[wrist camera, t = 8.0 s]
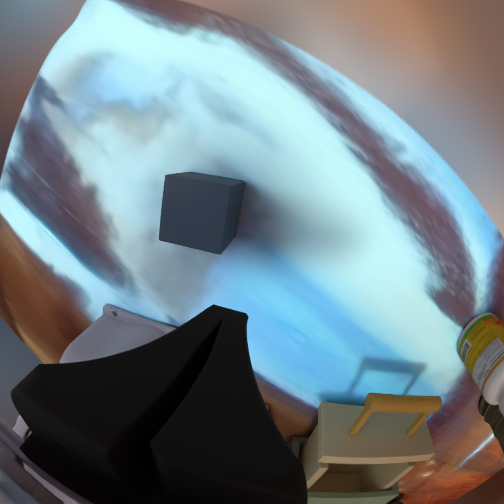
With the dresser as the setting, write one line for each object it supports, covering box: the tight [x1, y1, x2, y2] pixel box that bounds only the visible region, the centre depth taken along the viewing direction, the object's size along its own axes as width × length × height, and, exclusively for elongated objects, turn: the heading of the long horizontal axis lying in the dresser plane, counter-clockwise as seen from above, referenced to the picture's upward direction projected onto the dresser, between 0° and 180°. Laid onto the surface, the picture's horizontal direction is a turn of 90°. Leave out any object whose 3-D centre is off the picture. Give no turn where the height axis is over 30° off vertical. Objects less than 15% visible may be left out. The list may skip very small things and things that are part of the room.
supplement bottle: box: [457, 313, 504, 416], centre depth 14 cm, size 5×5×10 cm
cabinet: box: [288, 436, 399, 504], centre depth 24 cm, size 15×13×8 cm
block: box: [159, 172, 245, 254], centre depth 18 cm, size 4×4×4 cm
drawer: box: [298, 393, 442, 493], centre depth 20 cm, size 18×11×6 cm, turn 170°
